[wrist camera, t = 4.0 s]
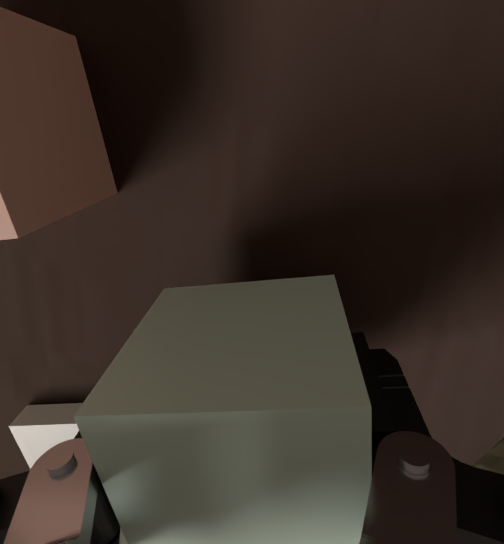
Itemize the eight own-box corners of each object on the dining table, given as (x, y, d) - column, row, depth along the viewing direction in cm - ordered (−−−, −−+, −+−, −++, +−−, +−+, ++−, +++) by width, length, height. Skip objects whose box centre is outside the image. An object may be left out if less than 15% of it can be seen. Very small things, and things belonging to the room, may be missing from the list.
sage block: (164, 288, 11) (73, 416, 6) (334, 274, 10) (371, 406, 6) (195, 415, 13) (144, 583, 8) (340, 410, 12) (371, 591, 8)
